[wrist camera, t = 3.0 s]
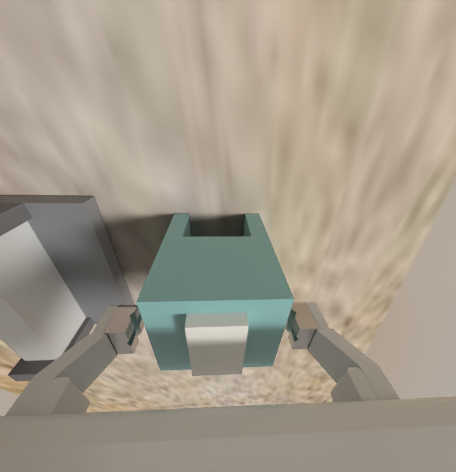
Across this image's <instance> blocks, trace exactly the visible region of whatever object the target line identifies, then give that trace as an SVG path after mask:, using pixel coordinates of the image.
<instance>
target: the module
mask: <svg viewBox="0 0 456 472" xmlns="http://www.w3.org/2000/svg"><path fill="white" fill-rule="evenodd" d="M293 301H294V298H293V295H292V293H291V290H290V288H289V286H288V283H287V281H286V278H285V276H284V273H283V271H282V269H281V266H280V264H279V261H278V259H277V256H276V254H275V252H274V249H273V247H272V244H271V242H270V239H269V237H268V235H267V232H266V230H265V227H264V225H263V222H262V220H261V218H260V215H259V214H245V222H244V234H243V237H191V232H190V221H189V214H174V216H173V218H172V220H171V223H170V225H169V227H168V230H167V232H166V234H165V237H164V239H163V241H162V244H161V246H160V248H159V251H158V253H157V255H156V258H155V260H154V262H153V265H152V267H151V269H150V271H149V274H148V276H147V278H146V281H145V283H144V285H143V288H142V290H141V292H140V295H139V297H138V299H137V302H136V303H137V306H138V308H139V311H140V314H141V317H142V320H143V323H144V325H145V328H146V331H147V334H148V337H149V340H150V342H151V345H152V348H153V351H154V354H155V357H156V359H157V362H158V365H159V368H160V370H185V369H191V370H192V376H201V375H225V374H242V368H243V367H262V366H273V363H274V360H275V357H276V354H277V351H278V347H279V344H280V341H281V338H282V335H283V332H284V329H285V326H286V323H287V319H288V316H289V313H290V310H291V307H292V304H293Z"/></svg>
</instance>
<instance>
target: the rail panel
mask: <svg viewBox="0 0 456 472" xmlns="http://www.w3.org/2000/svg"><path fill="white" fill-rule="evenodd" d="M110 305H134V303H133V300H132V298H131V295H130V292H129V290H128V287H127V284H126V281H125V279H124V276H123V273H122V270H121V268H120V265H119V262H118V260H117V257H116V254H115V251H114V249H113V246H112V243H111V240H110V238H109V235H108V232H107V230H106V227H105V224H104V221H103V219H102V216H101V213H100V211H99V208H98V205H97V202H96V200H95V197H94V196H29V195H0V339H1V340H2V341H3V342H5V343H6V344H7V345H8V346H9V347H10V348H11V349H12V350H13V351H15V352H16V353H17V354H18V355H19V356H20V357H21V359H20V360H19V362H18V363H17V364H16V365H15V367H14V368H13V369H12V370H11V372H10V373H9V374H8V375H9V376H10V377H11V378H12V379H14V380H15V381H30V380H31V379H32V378H33V376H35V375H36V374H37V373H39V372H40V371H41V370H43V369H44V368H45V367H47V366H48V365H49V364H50V363H52V362H53V361H54V360H56V359H57V358H58V357H60V356H61V355H62V354H63V353H65V352H66V351H67V350H69V349H70V348H71V347H73V346H74V345H75V344H77V343H78V342H79V341H80V340H82V339H83V338H84V337H86V336H87V335H88V334H89V332H90V331H91V329H92V327H93V326H94V324H98V323H99V321H100V319H101V318H102V316H103V314H104V312H105V311H106V309H107V308H108V307H109V306H110Z"/></svg>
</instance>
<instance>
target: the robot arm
mask: <svg viewBox="0 0 456 472" xmlns="http://www.w3.org/2000/svg"><path fill="white" fill-rule="evenodd" d="M143 327H144V323H143V320H142V317H141V314H140V311H139V308H138V306H137V305H110V306H109V307H108V308H107V309H106V311H105V312H104V314H103V316H102V318H101V319H100V321H99V323H98V324H97V326H96V328H95V329H94V331H93V333H92V334H88V335H87V336H86V337H84V338H83V339H82V340H80V341H79V342H78V343H77V344H75V345H74V346H73V347H71V348H70V349H69V350H67V351H66V352H65V353H63V354H62V355H61V356H60V357H58V358H57V359H56V360H54V361H53V362H52V363H50V364H49V365H48V366H47V367H45V368H44V369H43V370H41V371H40V372H39V373H37V374H36V375H35V376H33V378H32V379H31V380H30V382H29V383H28V385H27V386H26V387H25V389H24V390H23V391H22V393H21V394H20V396H19V397H18V399H17V400H16V401H15V403H14V404H13V406H12V407H11V408H10V410H9V411H8V412H7V414H6V415H5V416H0V472H456V397H439V398H417V399H400V398H399V397H398V395H397V394H396V392H395V390H394V389H393V387H392V386H391V384H390V383H389V381H388V380H387V378H386V377H385V375H384V374H383V372H382V370H381V369H380V367H379V366H378V365H377V364H376V363H374V362H373V361H372V360H371V359H369V358H368V357H367V356H366V355H364V354H363V353H362V352H361V351H359V350H358V349H357V348H356V347H354V346H353V345H352V344H351V343H349V342H348V341H347V340H346V339H344V338H343V337H342V336H341V335H339V334H338V333H337V332H336V331H334V330H333V329H330V328H329V327H328V325H327V323H326V321H325V319H324V317H323V315H322V314H321V312H320V310H319V308H318V306H317V304H316V303H315V302H293V304H292V307H291V310H290V313H289V316H288V319H287V323H286V326H285V329H286V330H287V331H288V332H289V336H288V338H289V341H290V344H291V347H292V349H308V351H309V352H310V353H311V355H312V356H313V357H314V358H315V359H316V360H317V361H318V362H319V364H320V365H321V366H322V367H323V368H324V369H325V370H326V371H327V373H328V374H329V375H330V376H331V377H332V378H333V379H334V381H335V382H336V383H337V384H336V385H335V386H334V388H333V389H332V391H331V396H332V398H333V401H334V402H322V403H299V404H275V405H252V406H229V407H205V408H182V409H159V410H136V411H112V412H89V413H86V410H87V408H88V406H89V404H90V402H89V399H88V398H87V397H86V396H85V395H84V394H83V392H84V391H85V390H86V389H87V388H88V387H89V386H90V384H91V383H92V382H93V381H94V380H95V379H96V378H97V377H98V376H99V375H100V374H101V372H102V371H103V370H104V369H105V368H106V367H107V366H108V365H109V364H110V363H111V362H112V360H113V359H114V358H115V357H116V356H117V354H132V353H134V352H135V350H136V347H137V344H138V341H139V340H138V337H137V336H138V335H139V334H140V333H141V332H142V330H143Z"/></svg>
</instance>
